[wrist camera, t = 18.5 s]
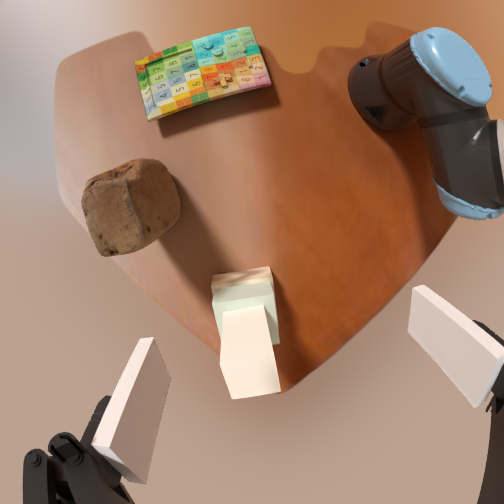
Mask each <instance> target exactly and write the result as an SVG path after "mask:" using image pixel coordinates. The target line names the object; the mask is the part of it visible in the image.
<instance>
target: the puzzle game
mask: <svg viewBox="0 0 504 504" xmlns="http://www.w3.org/2000/svg"><path fill="white" fill-rule="evenodd" d="M134 64H135V68H136V73H137V77H138V82H139V86H140V90H141V94H142V99H143V103H144V107H145V111H146V115H147V118H148V121H149V122H151V121H154V120H157V119H159V118H162V117H164V116H167V115H170V114H173V113H175V112H178V111H181V110H184V109H187V108H190V107H193V106H196V105H199V104H202V103H205V102H208V101H212V100H215V99H219V98H222V97H226V96H229V95H233V94H237V93H241V92H245V91H249V90H253V89H258V88H262V87H267V86H271V84H272V83H271V80H270V77H269V74H268V71H267V68H266V65H265V62H264V60H263V57H262V54H261V51H260V49H259V46H258V43H257V41H256V38H255V35H254V33H253V30H252V28H251V27H244V28H239V29H234V30H229V31H225V32H221V33H217V34H213V35H210V36H206V37H202V38H199V39H196V40H192V41H189V42H186V43H183V44H180V45H177V46H174V47H171V48H169V49H166V50H163V51H161V52H158V53H155V54H153V55H150V56H148V57H146V58H143V59H141V60H139V61H136V62H134Z"/></svg>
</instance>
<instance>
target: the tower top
mask: <svg viewBox="0 0 504 504" xmlns="http://www.w3.org/2000/svg"><path fill="white" fill-rule="evenodd" d="M260 305H264V310H265V314H266V319H267V324H268V328H269V333H270V338H271V343H272V345H275V344H280V340H279V332H278V324H277V316H276V308H275V301H274V294H273V290H272V287H271V283H270V281H264V282H258V283H252V284H245V285H239V286H232V287H226V288H219V289H214V295H213V300H212V306H213V310H214V314H215V318H216V322H217V326H218V330H219V334H220V338H222V322H223V312H228V311H233V310H239V309H244V308H250V307H255V306H260Z"/></svg>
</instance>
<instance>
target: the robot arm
mask: <svg viewBox="0 0 504 504" xmlns="http://www.w3.org/2000/svg"><path fill="white" fill-rule="evenodd" d="M491 87H492V83H491V79H490V76H489V73H488V71H487V69H486V67H485V65H484V63H483V61H482V59H481V58H480V57H479V55H478V54H477V52H476V51H475V50H474V49H473V48H472V47H471V46H470V45H469V43H467V42H466V41H464V40H463V39H462V38H461V37H460V36H459V35H457V34H456V33H454V32H452V31H450V30H447V29H445V28H440V27H433V28H429V29H427V30H425V31H423V32H419V33H416V34H414V35H413V36H412V37H411V38H410V39H408V40H407V41H405V42H404V43H402V44H401V45H399V46H398V47H396V48H395V49H393V50H392V51H390V52H389V53H387V54H380V55H371V56H368V57H365V58H363V59H361V60H360V61H359V62H358V63H356V64H355V65H354V66H353V68H352V69H351V71H350V74H349V77H348V90H349V94H350V97H351V100H352V102H353V104H354V106H355V108H356V109H357V111H358V112H359V113H360V115H361V116H362V117H363V118H364V119H365V120H366V121H368V122H369V123H370V124H372V125H373V126H375V127H377V128H379V129H382V130H386V131H397V130H402V129H406V128H408V127H410V126H411V125H412V124H414V123H415V122H416V121H417V120H418V123H419V126H420V129H421V132H422V136H423V139H424V142H425V145H426V149H427V153H428V156H429V160H430V164H431V168H432V172H433V181H434V183H435V185H436V187H437V191H438V195H439V199H440V201H441V203H442V204H443V205H444V207H445V208H446V209H447V210H448V211H450V212H451V213H453V214H455V215H458V216H460V217H464V218H468V219H474V220H486V218H490V219H493V218H497V217H499V216H500V215H502V214H503V213H504V121H503V120H500V119H497V120H490V119H489V116H488V112H487V109H486V104H487V103H488V102H489V101H490V99H491V96H492V90H491ZM408 333H409V334H410V335H411V336H412V337H413V338H414V339H415V340H416V341H417V342H418V343H419V344H420V346H421V347H422V348H423V349H424V350H425V351H426V352H427V353H428V354H429V356H430V357H432V359H433V360H434V361H435V362H436V363H437V364H438V366H439V367H440V368H441V369H442V370H443V371H444V372H445V374H446V375H447V376H448V377H449V378H450V379H451V381H452V382H453V383H454V384H455V385H456V387H457V388H458V389H459V390H460V391H461V392H462V394H463V395H464V396H465V397H466V399H467V400H468V401H469V402H470V403H471V404H472V406H473V407H474V408H475V407H477V406H478V405H480V404H481V403H483V402H484V401H485V400H486V399H487V397H488V395H489V393H490V391H492V392H493V393H494V396H493V397H492V399H491V401H490V403H489V405H488V406H487V408H486V412H488V410H489V408H490V407H491V405H492V409H491V412H492V413H491V415H492V416H491V429H490V439H489V448H488V455H487V461H486V467H485V473H484V478H483V482H482V487H481V491H480V495H479V498H478V502H477V504H504V340H503V339H501V338H500V337H499V336H498V335H495V333H494V332H493V331H492V330H490V329H489V328H488V327H487V326H485V325H484V324H483V323H480V322H478V321H475V320H472V321H471V320H470V319H469V318H468V317H466V316H465V315H464V314H463V313H461V312H460V311H459V310H457V309H456V308H455V307H453V306H452V305H451V304H449V303H448V302H447V301H445V300H444V299H443V298H441V297H440V296H439V295H437V294H436V293H434V292H433V291H432V290H430V289H429V288H428V287H426V286H425V285H421V286H417V287H414V288H412V299H411V308H410V317H409V325H408ZM170 382H171V376H170V374H169V372H168V370H167V368H166V365H165V363H164V360H163V358H162V356H161V353H160V351H159V349H158V346H157V344H156V341H155V339H154V337H151V338H141V339H140V340H139V342H138V344H137V346H136V348H135V350H134V352H133V354H132V356H131V358H130V360H129V362H128V364H127V366H126V368H125V370H124V372H123V374H122V376H121V378H120V380H119V382H118V384H117V387H116V389H115V391H114V393H113V395H112V396H105V397H104V398H103V399H102V400H101V401H100V402H99V403H98V405H97V407H96V409H95V411H94V414H93V415H92V417H91V421H89V423H88V426H87V428H86V430H85V432H84V435H83V437H82V439H81V441H80V442H79V441H78V440H77V439H76V438H75V437H74V436H73V435H72V434H70V433H67V432H62V433H58V434H57V435H55V436H54V437H53V438H52V439H51V440H50V442H49V445H48V451H49V452H50V453H51V454H52V455H53V456H48V455H47V454H46V453H45V452H44V451H42V450H41V449H33V450H31V451H30V452H28V453H27V454H26V456H25V459H24V466H23V504H135V503H134V501H133V500H132V498H131V497H130V495H129V494H128V492H127V490H126V489H125V487H124V485H123V484H122V483H121V482H120V480H121V476H123V477H124V478H126V479H127V480H128V481H129V482H134V483H141V484H146V482H147V477H148V473H149V468H150V463H151V459H152V454H153V450H154V445H155V442H156V437H157V433H158V429H159V424H160V421H161V417H162V413H163V409H164V405H165V401H166V397H167V393H168V390H169V386H170Z"/></svg>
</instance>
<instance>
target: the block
mask: <svg viewBox="0 0 504 504" xmlns="http://www.w3.org/2000/svg"><path fill="white" fill-rule="evenodd" d="M81 203H82V209H83V212H84V215H85V218H86V224H87V226H88V229H89V232H90V235H91V237H92V239H93V241H94V243H95V246H96V248H97V250H98V252H99V253H100V254H101V255H102V256H105V257H109V256H115V255H123V254H128V253H132V252H136V251H138V250H140V249H143V248H144V247H146V246H148V245H149V244H151V243H152V242H154V241H155V240H156V239H158V238H159V237H160V236H161V235H163V234H164V233H165V232H166V231H168V230H169V229H170V228H171V227H172V226H173V225H174V224H175V223H176V222H177V221H178V219H179V217H180V210H181V202H180V197H179V194H178V190H177V188H176V185H175V183H174V181H173V180H172V177H171V175H170V173H169V172H168V170H167V168H166V167H165V166H164V165H163V163H161V162H160V161H158V160H154V159H145V158H143V159H135V160H132V161H129V162H127V163H125V164H123V165H120V166H118V167H116V168H115V169H112V170H109V171H107V172H104V173H102V174H99V175H96V176H94V177H92V178H91V179H89V180H88V181H87V182H86V187H85V190H84V192H83V196H82V201H81Z"/></svg>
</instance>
